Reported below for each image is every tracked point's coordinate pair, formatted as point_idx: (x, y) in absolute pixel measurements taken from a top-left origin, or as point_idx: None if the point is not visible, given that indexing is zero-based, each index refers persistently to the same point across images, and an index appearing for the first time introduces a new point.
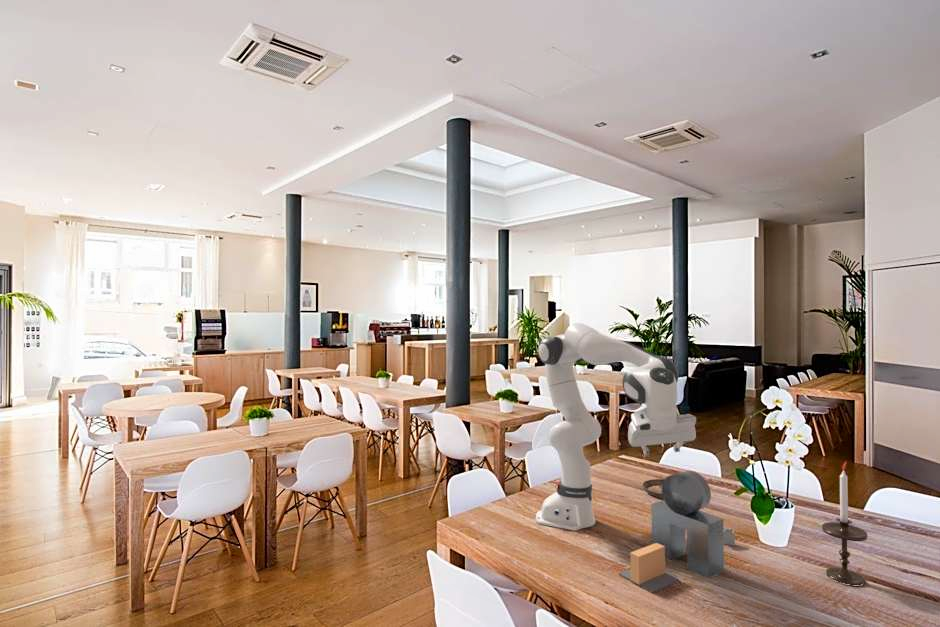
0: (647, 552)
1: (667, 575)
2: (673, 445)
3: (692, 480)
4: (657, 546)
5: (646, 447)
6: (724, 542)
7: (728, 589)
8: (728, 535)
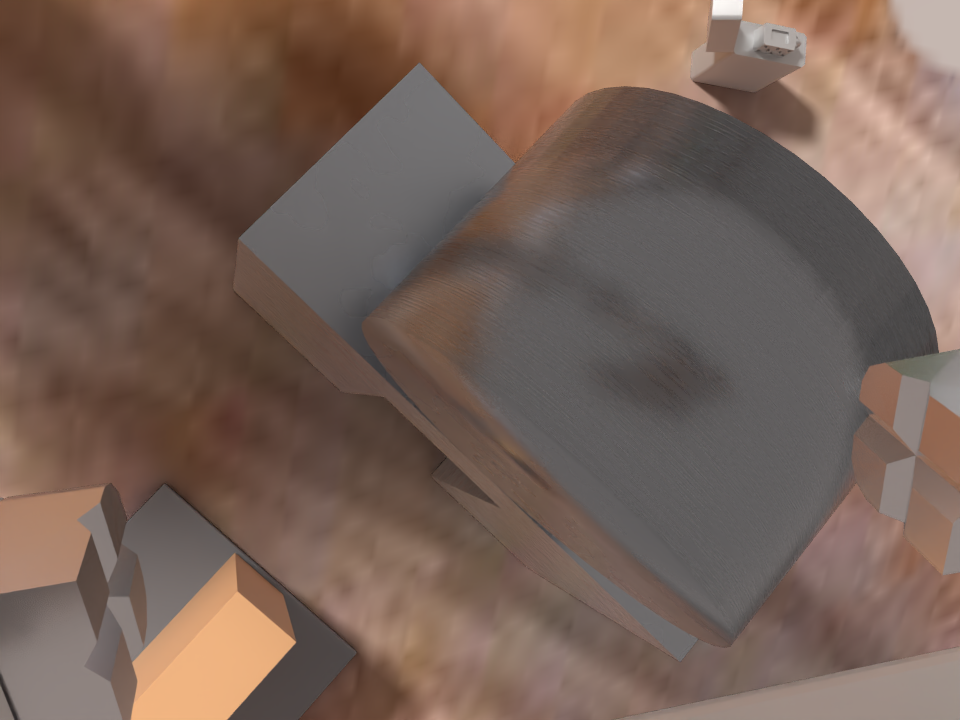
0: None
1: (293, 626)
2: (951, 412)
3: (793, 530)
4: (237, 661)
5: (16, 601)
6: (711, 80)
7: (605, 662)
8: (758, 67)
